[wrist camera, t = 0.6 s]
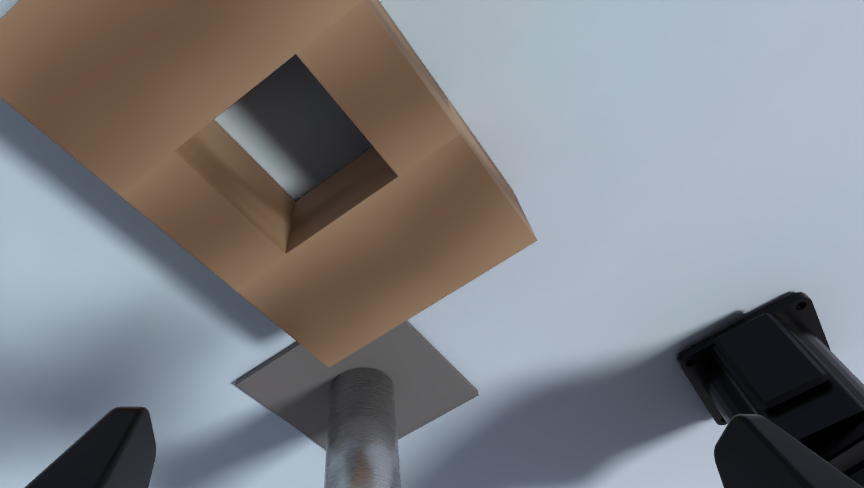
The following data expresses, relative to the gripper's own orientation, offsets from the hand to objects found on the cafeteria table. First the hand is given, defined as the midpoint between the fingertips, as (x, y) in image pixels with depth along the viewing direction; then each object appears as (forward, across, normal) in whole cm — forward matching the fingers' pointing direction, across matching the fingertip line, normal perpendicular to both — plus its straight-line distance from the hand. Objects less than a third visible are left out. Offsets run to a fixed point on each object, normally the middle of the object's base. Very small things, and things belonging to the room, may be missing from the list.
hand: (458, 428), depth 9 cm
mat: (+13, +1, +13) cm, 19 cm away
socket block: (+13, +4, 0) cm, 14 cm away
